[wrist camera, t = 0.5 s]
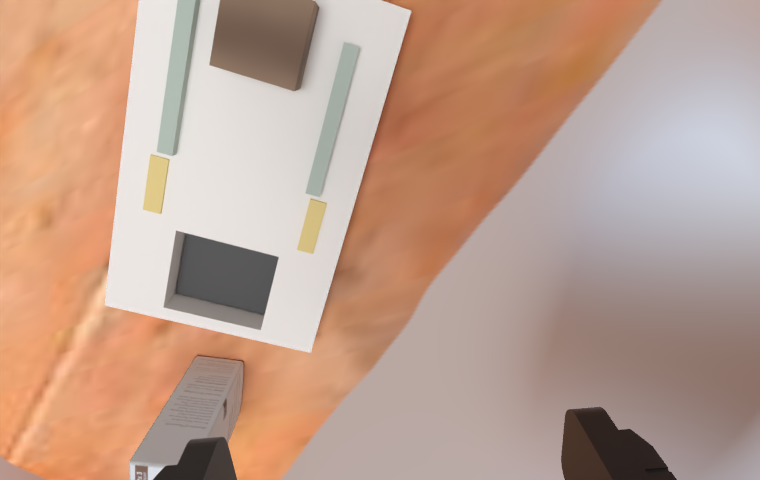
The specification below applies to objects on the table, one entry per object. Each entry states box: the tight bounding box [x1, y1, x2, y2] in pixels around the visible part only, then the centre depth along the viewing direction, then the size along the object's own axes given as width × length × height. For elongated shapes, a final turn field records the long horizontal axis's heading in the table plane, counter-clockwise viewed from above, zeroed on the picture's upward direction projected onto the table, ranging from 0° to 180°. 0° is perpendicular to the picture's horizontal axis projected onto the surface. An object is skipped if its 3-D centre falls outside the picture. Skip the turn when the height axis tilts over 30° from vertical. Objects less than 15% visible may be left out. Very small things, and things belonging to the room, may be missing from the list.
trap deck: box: [105, 0, 411, 353], centre depth 33 cm, size 26×16×3 cm, turn 163°
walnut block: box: [209, 0, 319, 91], centre depth 28 cm, size 5×5×3 cm
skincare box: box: [129, 356, 244, 480], centre depth 35 cm, size 6×4×12 cm
